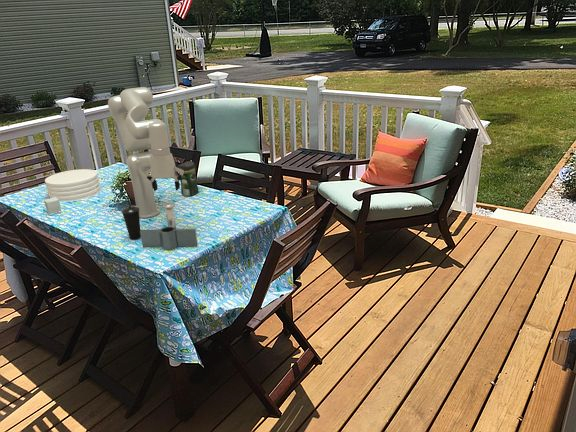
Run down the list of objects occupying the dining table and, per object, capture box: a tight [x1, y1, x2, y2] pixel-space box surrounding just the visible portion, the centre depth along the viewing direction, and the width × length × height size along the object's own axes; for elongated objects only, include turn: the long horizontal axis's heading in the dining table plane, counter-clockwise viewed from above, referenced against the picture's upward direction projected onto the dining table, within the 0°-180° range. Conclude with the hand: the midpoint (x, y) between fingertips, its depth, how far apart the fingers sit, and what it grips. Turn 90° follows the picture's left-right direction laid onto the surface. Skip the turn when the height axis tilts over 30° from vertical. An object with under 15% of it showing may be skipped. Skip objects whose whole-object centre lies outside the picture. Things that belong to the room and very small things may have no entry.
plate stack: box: [44, 168, 102, 201], centre depth 274 cm, size 28×28×12 cm
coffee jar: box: [177, 160, 199, 197], centre depth 265 cm, size 10×8×19 cm
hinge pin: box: [162, 201, 177, 228], centre depth 213 cm, size 5×5×15 cm
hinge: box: [140, 225, 199, 251], centre depth 203 cm, size 24×7×8 cm, turn 87°
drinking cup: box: [121, 195, 141, 241], centre depth 212 cm, size 8×8×20 cm
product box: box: [43, 197, 62, 215], centre depth 249 cm, size 6×6×7 cm
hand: (166, 189), depth 208 cm, fingers open, 9 cm apart
